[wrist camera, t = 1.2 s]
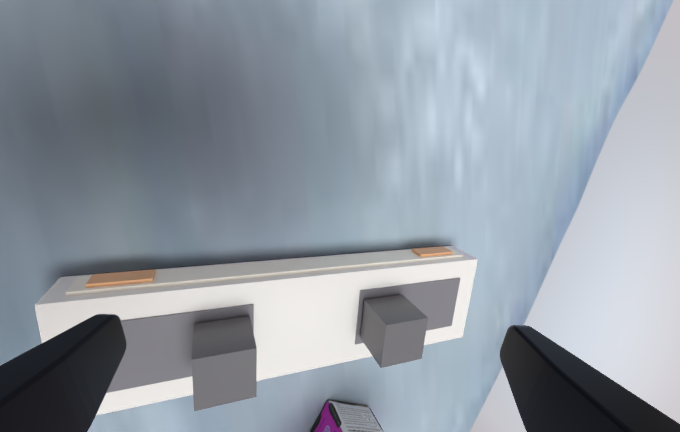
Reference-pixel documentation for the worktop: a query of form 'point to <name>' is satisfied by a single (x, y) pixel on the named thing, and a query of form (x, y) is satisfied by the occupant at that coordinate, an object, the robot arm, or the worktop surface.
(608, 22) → the worktop surface
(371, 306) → the outer tab
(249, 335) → the inner tab
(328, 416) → the candy bar box
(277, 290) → the switch bank
